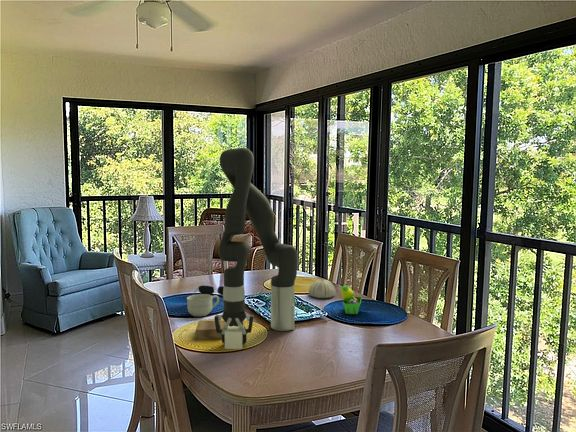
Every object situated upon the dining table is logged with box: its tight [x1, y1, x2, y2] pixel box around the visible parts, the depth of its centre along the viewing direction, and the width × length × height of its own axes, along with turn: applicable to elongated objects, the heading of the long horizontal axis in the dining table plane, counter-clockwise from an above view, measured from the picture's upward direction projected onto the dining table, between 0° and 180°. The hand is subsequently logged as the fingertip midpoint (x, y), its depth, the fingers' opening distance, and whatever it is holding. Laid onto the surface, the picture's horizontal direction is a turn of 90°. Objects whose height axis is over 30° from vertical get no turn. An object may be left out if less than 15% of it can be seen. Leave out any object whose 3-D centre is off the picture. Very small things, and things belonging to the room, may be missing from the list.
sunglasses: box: [192, 284, 224, 295], centre depth 226 cm, size 17×15×5 cm
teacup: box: [186, 293, 220, 317], centre depth 201 cm, size 14×11×8 cm
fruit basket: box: [340, 285, 362, 315], centre depth 207 cm, size 11×9×11 cm
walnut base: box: [195, 319, 226, 340], centre depth 178 cm, size 10×10×4 cm
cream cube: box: [224, 326, 244, 350], centre depth 167 cm, size 6×6×6 cm
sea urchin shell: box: [308, 279, 337, 299], centre depth 231 cm, size 13×14×8 cm
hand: (234, 343), depth 167 cm, fingers closed on cream cube, 6 cm apart
